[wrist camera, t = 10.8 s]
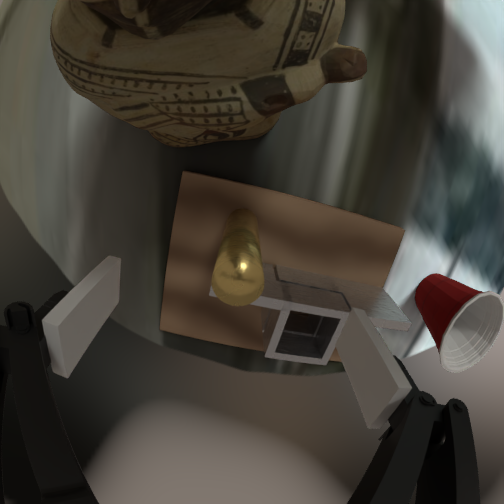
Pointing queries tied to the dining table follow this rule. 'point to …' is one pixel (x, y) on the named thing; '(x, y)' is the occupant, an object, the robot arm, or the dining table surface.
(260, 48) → the ceramic vessel
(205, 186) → the board
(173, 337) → the dining table surface
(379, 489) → the robot arm
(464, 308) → the plastic cup
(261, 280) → the pin
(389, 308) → the fixed leaf
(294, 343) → the flanged square frame
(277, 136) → the dining table surface
